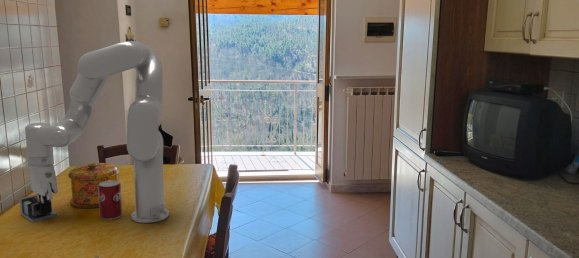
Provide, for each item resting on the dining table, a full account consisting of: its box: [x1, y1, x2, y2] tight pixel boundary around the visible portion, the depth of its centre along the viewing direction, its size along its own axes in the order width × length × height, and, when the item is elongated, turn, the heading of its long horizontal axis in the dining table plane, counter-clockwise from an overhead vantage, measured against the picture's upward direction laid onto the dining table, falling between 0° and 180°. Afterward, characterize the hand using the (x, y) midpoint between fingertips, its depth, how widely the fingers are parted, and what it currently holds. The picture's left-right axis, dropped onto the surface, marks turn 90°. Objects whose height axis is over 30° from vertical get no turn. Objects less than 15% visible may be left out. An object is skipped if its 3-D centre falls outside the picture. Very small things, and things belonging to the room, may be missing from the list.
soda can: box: [97, 180, 123, 221], centre depth 157 cm, size 7×7×12 cm
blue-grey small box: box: [31, 197, 53, 216], centre depth 156 cm, size 5×6×5 cm
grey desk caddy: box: [18, 194, 58, 223], centre depth 157 cm, size 10×8×6 cm
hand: (45, 213), depth 154 cm, fingers closed
